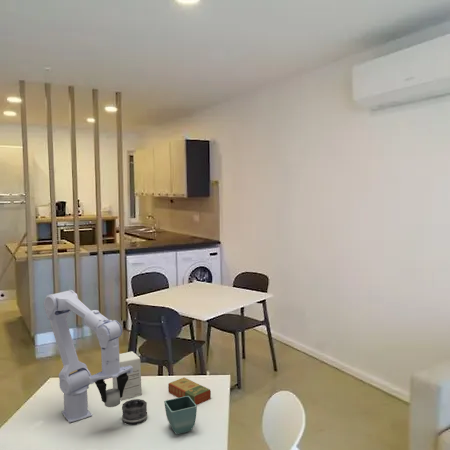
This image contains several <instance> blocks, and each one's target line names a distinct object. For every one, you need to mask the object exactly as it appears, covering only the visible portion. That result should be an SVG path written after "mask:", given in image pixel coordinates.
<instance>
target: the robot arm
mask: <svg viewBox="0 0 450 450" xmlns="http://www.w3.org/2000/svg"><path fill="white" fill-rule="evenodd" d="M43 308H44V310H45V313H46V317H47V320H49V323H50V326H51V329H52V333H53V336H54V339H55V342H56V345H57V349H58V352H59V356H60V360H61V363H62V365H63V367H62V369H61V370H60V371H59V373H58V380H59V389H60V390H61V393H63V409H64V410H62V411H61V414H62V415H63V417H64V418H65V419H66V420H67V421H68V423H74V422H77V421H80V420H83V419H86V418H89V417H92V416H93V414H92V412H91V411H90V410H89V409H88V408H89V407H88V406H89V405H88V401H89V400H88V389H89V387H90V385H94V384H95V385H96V387H97V389H98V391H99V395H100V397H101V398H100V399H101V401H102V403H104V404H105V402H106V390H107V385H108V384H107V383H106V381H105V380H108V379H113V378H117V385H118V389H119V390H120V398H121V397H122V396H123V391H124V388H125V385H126V383H127V381H128V375H127V373H133V367H132V366H126V367H120V359H119V354H120V337H121V336H122V334H123V327H122V325H121V323H120V322H119V321H118V320H116V319H113V320H112V319H109V318H108V317H106V316H105V315H103V314H102V313H101V312H100V310H98V309H94V310H93V309H90V308H89V307H88V306H87V305H85V304H84V303H83V302H82V301H81V300H80V299H79V296H78V293H76V292H75V291H74V290H72V289H68V290H64V291H61V292H57V293H52V294H50V293H49V294H47V295H46V296H45V298H44V302H43ZM71 312H72V313H74V314H76V315H77V316H79V317H80V318H81V319H83V322H84V325H85V326H86V327H88V328H89V329H90V330H92V331H93V332H95V333H96V334H95V335H96V338H97V340H98V343H99V347H100V353H101V371H100V372H97V373H95V374H92V373H91V371H90V369H88V366H87V364H86V363H85V362H82V361H81V360H79V357H78V354H77V351H76V348H75V344H74V340H73V338H72V333H71V331H70V328H69V325H68V324H69V323H68V320H67V317H68V315H69V314H70V313H71Z"/></svg>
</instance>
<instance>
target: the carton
mask: <svg viewBox="0 0 450 450" xmlns="http://www.w3.org/2000/svg"><path fill="white" fill-rule="evenodd" d="M167 389H168V393H169V394H170V395H173V396H174V397H175V398H180V397H184V396H189V397H190V398H191V399H192V400H193V402H194V403H195V404H196V405H197V406H198V405H200V404H203V403H205V402H207V401H209V400H211V399H212V398H211V395H212V394H211V389H210V388H208V387H205V386H204V385H201V384H200V383H197V382H195V381H193V380H190V379H188V378H187V377H182V378H179V379H176V380H173V381H171V382H169V383H168V388H167Z"/></svg>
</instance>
